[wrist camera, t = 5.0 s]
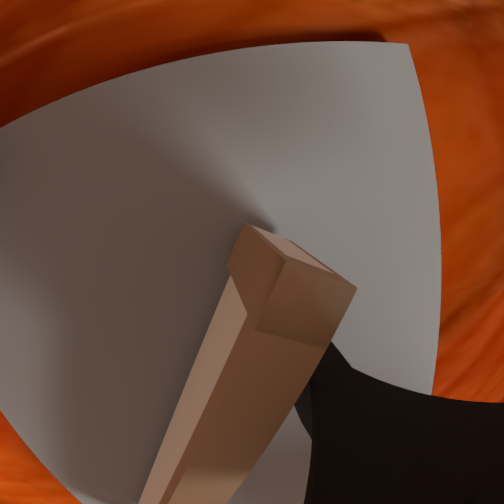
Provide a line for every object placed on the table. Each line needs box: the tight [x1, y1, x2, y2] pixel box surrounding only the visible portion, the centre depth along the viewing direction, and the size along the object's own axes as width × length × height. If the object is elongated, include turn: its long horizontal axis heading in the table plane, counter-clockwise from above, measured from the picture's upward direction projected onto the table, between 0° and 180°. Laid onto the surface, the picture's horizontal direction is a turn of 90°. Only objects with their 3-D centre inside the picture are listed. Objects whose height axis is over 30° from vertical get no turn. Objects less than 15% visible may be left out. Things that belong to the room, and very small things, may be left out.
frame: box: [0, 41, 441, 504], centre depth 8 cm, size 21×18×5 cm
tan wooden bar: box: [138, 222, 358, 504], centre depth 8 cm, size 14×1×4 cm, turn 157°
